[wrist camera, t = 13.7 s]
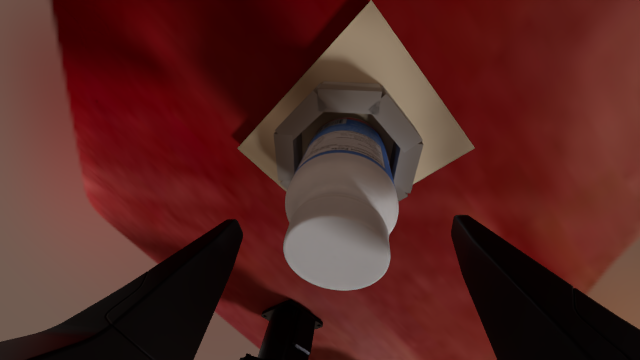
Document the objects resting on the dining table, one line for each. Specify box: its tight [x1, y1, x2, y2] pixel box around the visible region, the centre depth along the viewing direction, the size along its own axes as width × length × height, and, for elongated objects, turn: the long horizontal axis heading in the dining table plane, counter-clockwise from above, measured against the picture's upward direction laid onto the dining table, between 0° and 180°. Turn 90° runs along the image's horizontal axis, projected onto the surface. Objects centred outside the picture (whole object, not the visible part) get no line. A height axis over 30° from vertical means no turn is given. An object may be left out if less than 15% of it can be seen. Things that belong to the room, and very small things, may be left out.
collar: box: [238, 0, 474, 201], centre depth 16 cm, size 13×11×4 cm
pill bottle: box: [283, 117, 398, 290], centre depth 13 cm, size 6×5×10 cm
